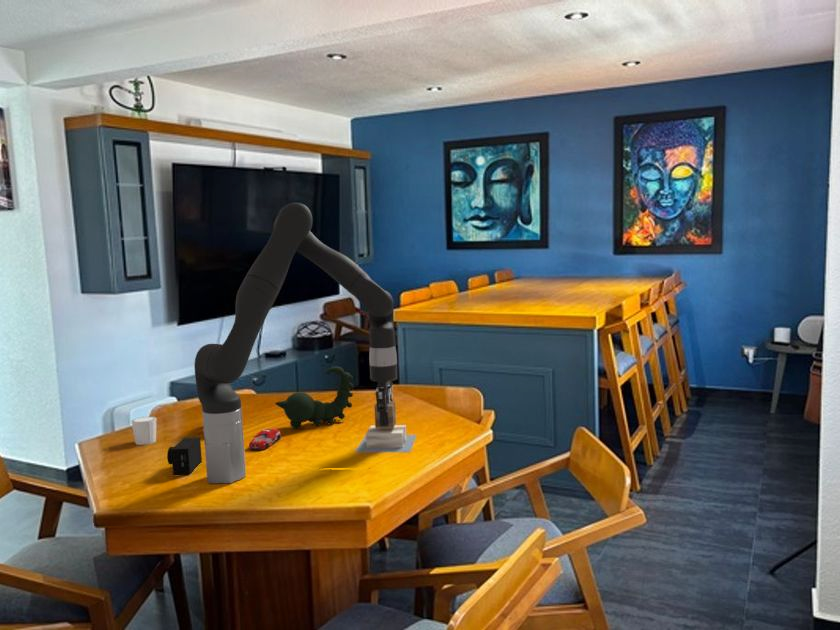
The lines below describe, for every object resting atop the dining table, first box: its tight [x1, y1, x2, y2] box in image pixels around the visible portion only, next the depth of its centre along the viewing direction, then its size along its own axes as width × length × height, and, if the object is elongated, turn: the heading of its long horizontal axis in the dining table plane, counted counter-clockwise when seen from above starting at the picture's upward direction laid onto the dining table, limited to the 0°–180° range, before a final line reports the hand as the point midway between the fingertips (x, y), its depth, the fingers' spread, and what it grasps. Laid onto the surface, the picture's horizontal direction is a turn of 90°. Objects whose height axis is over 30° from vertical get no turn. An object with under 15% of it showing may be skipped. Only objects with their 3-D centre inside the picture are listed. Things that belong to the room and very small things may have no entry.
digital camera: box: [166, 436, 203, 476], centre depth 179 cm, size 10×5×7 cm, turn 1°
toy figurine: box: [275, 365, 354, 430], centre depth 217 cm, size 9×19×25 cm
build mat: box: [354, 434, 418, 453], centre depth 193 cm, size 16×15×1 cm
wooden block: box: [365, 424, 407, 448], centre depth 193 cm, size 8×10×4 cm
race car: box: [248, 428, 282, 451], centre depth 199 cm, size 13×5×4 cm, turn 166°
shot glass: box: [131, 416, 157, 446], centre depth 205 cm, size 7×7×7 cm
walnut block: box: [373, 401, 397, 428], centre depth 192 cm, size 5×5×6 cm
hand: (385, 422), depth 193 cm, fingers closed on walnut block, 5 cm apart
